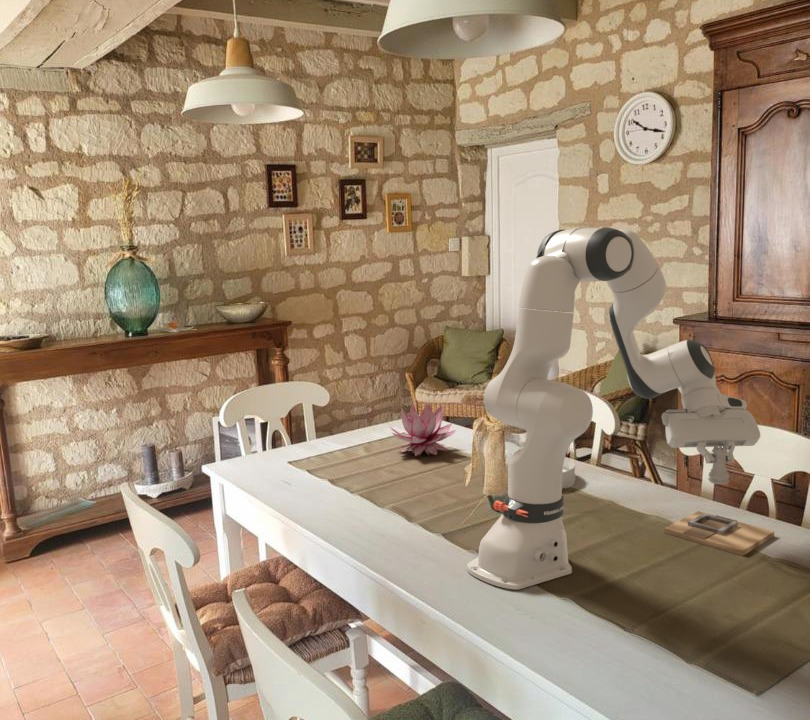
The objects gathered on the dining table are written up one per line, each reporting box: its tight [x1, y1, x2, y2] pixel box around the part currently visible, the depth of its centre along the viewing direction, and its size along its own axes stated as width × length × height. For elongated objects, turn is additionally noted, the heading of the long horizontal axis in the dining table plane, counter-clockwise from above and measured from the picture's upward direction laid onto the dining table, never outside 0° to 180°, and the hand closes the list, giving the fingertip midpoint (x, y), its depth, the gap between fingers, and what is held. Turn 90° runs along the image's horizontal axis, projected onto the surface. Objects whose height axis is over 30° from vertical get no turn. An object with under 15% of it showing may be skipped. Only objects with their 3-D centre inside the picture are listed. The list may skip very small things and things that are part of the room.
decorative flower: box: [389, 402, 457, 456], centre depth 240 cm, size 21×21×15 cm
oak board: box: [663, 511, 775, 557], centre depth 170 cm, size 16×18×2 cm
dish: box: [562, 457, 576, 489], centre depth 212 cm, size 22×22×5 cm
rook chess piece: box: [707, 445, 730, 485], centre depth 165 cm, size 4×4×8 cm
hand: (720, 462), depth 164 cm, fingers closed on rook chess piece, 3 cm apart
